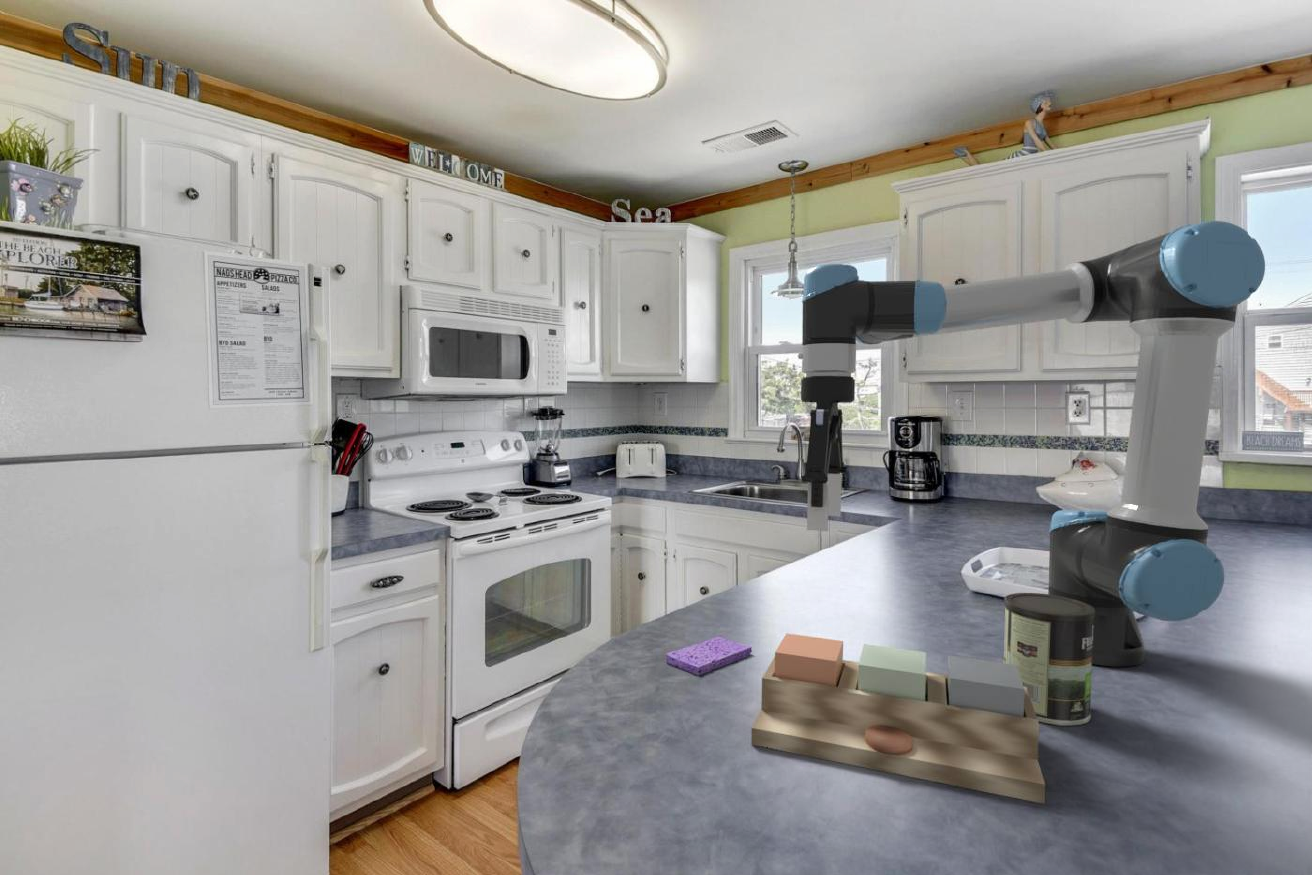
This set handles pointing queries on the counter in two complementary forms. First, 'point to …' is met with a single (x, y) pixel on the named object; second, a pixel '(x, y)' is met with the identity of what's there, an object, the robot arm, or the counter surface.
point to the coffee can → (1052, 654)
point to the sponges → (708, 655)
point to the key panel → (903, 733)
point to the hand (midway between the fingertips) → (824, 522)
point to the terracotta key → (809, 659)
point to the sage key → (892, 672)
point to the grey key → (985, 686)
